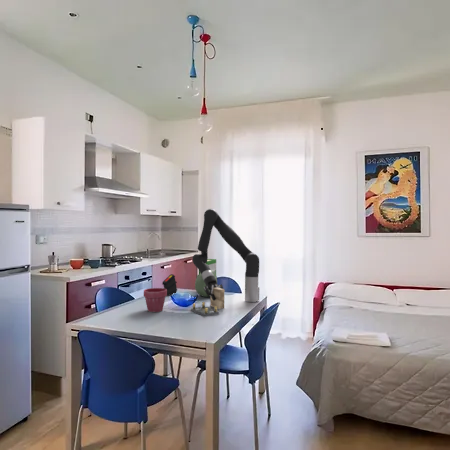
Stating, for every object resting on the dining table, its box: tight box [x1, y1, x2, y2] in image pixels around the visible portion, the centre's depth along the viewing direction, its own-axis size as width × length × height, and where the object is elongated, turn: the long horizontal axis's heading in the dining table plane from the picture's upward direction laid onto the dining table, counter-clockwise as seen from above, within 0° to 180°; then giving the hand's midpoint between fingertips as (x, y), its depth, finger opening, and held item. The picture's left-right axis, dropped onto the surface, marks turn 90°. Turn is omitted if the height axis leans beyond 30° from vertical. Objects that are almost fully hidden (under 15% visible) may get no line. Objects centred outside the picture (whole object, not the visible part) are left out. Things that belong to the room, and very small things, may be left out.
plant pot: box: [143, 287, 168, 313], centre depth 223 cm, size 14×14×13 cm
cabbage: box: [194, 270, 218, 298], centre depth 266 cm, size 16×19×20 cm
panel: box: [209, 287, 226, 310], centre depth 234 cm, size 4×10×12 cm, turn 36°
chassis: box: [190, 301, 220, 317], centre depth 220 cm, size 10×16×4 cm, turn 36°
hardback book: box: [198, 258, 217, 275], centre depth 292 cm, size 18×7×24 cm, turn 158°
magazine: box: [161, 274, 178, 297], centre depth 270 cm, size 4×13×15 cm, turn 149°
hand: (218, 299), depth 233 cm, fingers open, 5 cm apart
